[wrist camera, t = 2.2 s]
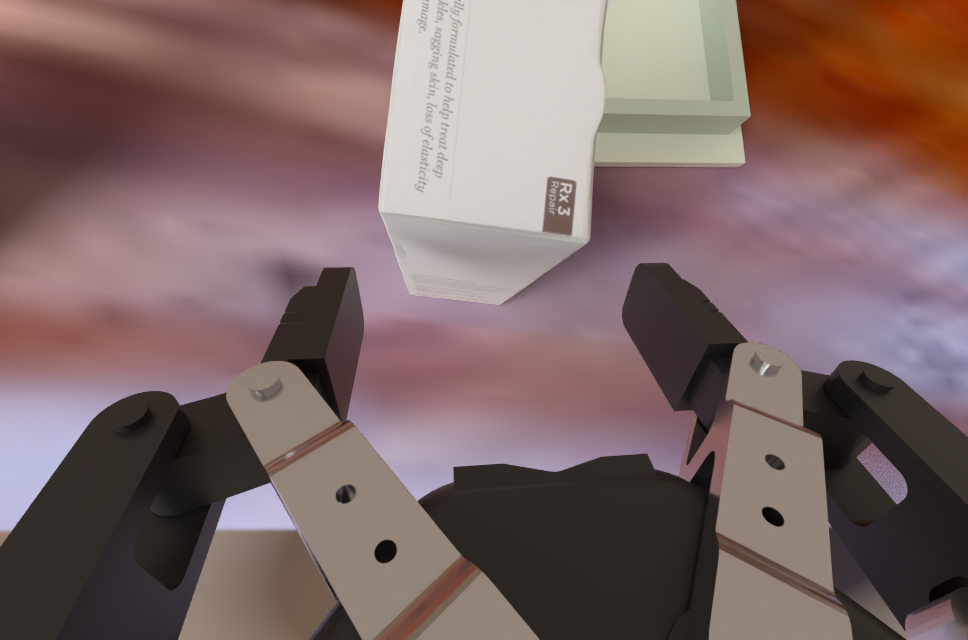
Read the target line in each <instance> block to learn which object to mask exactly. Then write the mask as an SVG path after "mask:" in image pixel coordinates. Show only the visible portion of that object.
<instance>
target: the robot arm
mask: <svg viewBox="0 0 968 640" xmlns="http://www.w3.org/2000/svg"><path fill="white" fill-rule="evenodd" d="M718 311H719V310H718V309H717V308H716V307H715V306H714V304H713V303H710V300H709V299H708V298H707V297H706V296H705V295H704V294H703V293H702V291H701V290H700V289H698V288H697V287H695V286H693V285H692V284H690V283H689V282H687V281H685V280H684V279H681V277H680V276H679V275H678V274H677V273H676V272H675V271H674V270H673V269H672V267H671V266H670V265H669V264H667V263H641V264H639V265H638V266H637V267H636V269H635V271H634V274H633V277H632V280H631V283H630V286H629V289H628V293H627V296H626V299H625V302H624V305H623V310H622V319H623V324H624V326H625V328H626V330H627V332H628V333H629V335H630V337H631V339H632V340H633V342H634V344H635V345H636V347H637V349H638V350H639V352H640V354H641V356H642V357H643V359H644V361H645V362H646V364H647V366H648V367H649V369H650V371H651V373H652V374H653V376H654V378H655V379H656V381H657V383H658V384H659V386H660V388H661V389H662V391H663V393H664V395H665V396H666V398H667V400H668V401H669V403H670V405H671V406H672V408H673V410H674V411H685V410H694V412H695V413H696V416H695V418H694V420H693V421H692V424H691V427H690V431H689V435H688V440H687V444H686V448H685V452H684V456H683V460H682V464H681V468H680V472H679V476H675V475H673V474H670V473H667V472H663V471H660V470H655V469H654V467H653V465H652V463H651V461H650V459H649V457H648V455H647V454H636V455H621V456H607V457H600V458H597V459H594V460H591V461H588V462H585V463H582V464H579V465H576V466H574V467H571V468H568V469H565V470H562V471H558V472H550V471H544V470H538V469H532V468H526V467H520V466H514V465H508V464H491V465H477V466H462V467H453V470H454V482H453V483H450V484H447V485H444V486H442V487H440V488H438V489H436V490H434V491H432V492H430V493H429V494H427V495H425V496H424V497H422V498H421V499H420V500H418V501H417V500H416V499H415V498H414V497H413V496H412V494H411V493H410V492H409V491H408V489H407V488H406V487H405V486H404V485H403V483H402V482H401V481H400V480H399V478H398V477H397V476H396V475H395V474H394V472H393V471H392V470H391V469H390V467H389V466H388V465H387V464H386V463H385V461H384V460H383V459H382V458H381V456H380V455H379V454H378V453H377V452H376V450H375V449H374V448H373V447H372V445H371V444H370V443H369V442H368V440H367V439H366V438H365V437H364V436H363V434H362V433H361V432H360V431H359V429H358V428H357V427H356V426H355V425H354V424H353V423H352V422H351V421H349V420H347V421H346V418H347V413H348V408H349V403H350V398H351V393H352V388H353V383H354V378H355V373H356V368H357V363H358V358H359V353H360V348H361V343H362V338H363V332H364V319H363V311H362V305H361V300H360V294H359V288H358V283H357V277H356V273H355V270H354V268H353V267H339V268H324V269H323V271H322V273H321V276H320V278H319V281H318V283H317V286H307V287H303V288H302V289H301V290H300V291H299V292H298V293H296V294H295V295H294V296H293V297H292V298H291V299H290V301H289V304H288V306H287V308H286V310H285V314H283V317H282V319H281V321H280V325H278V327H277V330H276V332H275V334H274V336H273V338H272V340H271V342H270V345H269V347H268V349H267V351H266V353H265V355H264V358H263V360H262V362H261V364H258V365H255V366H253V367H251V368H249V369H247V370H245V371H244V372H242V373H241V374H239V375H238V376H237V377H236V378H235V379H234V380H233V381H232V383H231V384H230V385H229V387H228V390H227V392H226V393H224V394H220V395H217V396H214V397H210V398H206V399H203V400H199V401H195V402H192V403H188V404H184V405H181V406H180V405H179V403H178V402H177V400H176V399H175V398H174V397H173V396H172V395H171V394H169V393H166V392H161V391H149V392H142V393H138V394H135V395H132V396H129V397H126V398H124V399H121V400H119V401H117V402H116V403H114V404H112V405H110V406H109V407H107V408H106V409H104V410H103V411H102V412H100V413H99V414H98V415H97V416H96V417H95V418H94V419H93V420H92V421H91V422H90V424H89V425H88V426H87V428H86V429H85V430H84V432H83V433H82V435H81V436H80V437H79V439H78V440H77V442H76V443H75V444H74V446H73V447H72V449H71V450H70V451H69V453H68V454H67V455H66V457H65V458H64V460H63V461H62V462H61V464H60V465H59V467H58V468H57V469H56V471H55V472H54V473H53V475H52V476H51V478H50V479H49V480H48V482H47V483H46V485H45V486H44V487H43V489H42V490H41V491H40V493H39V494H38V496H37V497H36V498H35V500H34V501H33V503H32V504H31V505H30V507H29V508H28V510H27V511H26V512H25V514H24V515H23V516H22V518H21V519H20V521H19V522H18V523H17V525H16V526H15V528H14V529H13V530H12V532H11V533H10V534H9V536H8V537H7V539H6V540H5V541H4V543H3V544H2V546H1V547H0V640H178V638H179V635H180V632H181V629H182V626H183V623H184V620H185V617H186V614H187V611H188V609H189V606H190V603H191V600H192V597H193V594H194V591H195V588H196V585H197V582H198V579H199V576H200V574H201V571H202V568H203V565H204V562H205V559H206V556H207V553H208V550H209V547H210V544H211V541H212V538H213V535H214V533H215V530H216V527H217V524H218V521H219V518H220V515H221V512H222V509H223V506H224V503H225V500H226V498H228V497H231V496H234V495H237V494H240V493H242V492H245V491H248V490H251V489H254V488H256V487H259V486H262V485H265V484H268V483H271V484H272V486H273V488H274V490H275V492H276V493H277V495H278V497H279V499H280V501H281V502H282V504H283V506H284V508H285V510H286V511H287V513H288V515H289V517H290V518H291V520H292V522H293V524H294V526H295V527H296V529H297V531H298V533H299V535H300V536H301V538H302V540H303V542H304V543H305V545H306V547H307V549H308V551H309V553H310V554H311V556H312V558H313V560H314V562H315V564H316V565H317V567H318V569H319V571H320V573H321V575H322V576H323V578H324V580H325V582H326V584H327V585H328V587H329V589H330V591H331V592H332V594H333V596H334V598H335V600H336V601H337V602H336V604H335V605H334V606H333V607H332V609H331V610H330V611H329V613H328V614H327V616H326V617H325V618H324V619H323V621H322V622H321V624H320V625H319V626H318V627H317V629H316V630H315V631H314V633H313V634H312V635H311V637H310V638H309V640H906V639H905V638H903V637H902V636H901V635H899V634H898V633H897V632H895V631H894V630H893V629H891V628H890V627H888V626H887V625H886V624H885V623H883V622H882V621H880V620H879V619H878V618H876V617H875V616H874V615H872V614H871V613H870V612H868V611H867V610H866V609H864V608H863V607H862V606H860V605H859V604H858V603H856V602H855V601H853V600H852V599H851V598H849V597H848V596H847V595H845V594H844V593H843V592H841V591H840V590H838V589H837V588H836V587H835V586H833V581H832V567H831V553H830V540H829V526H828V522H829V523H830V525H831V526H832V527H833V529H834V530H835V532H836V533H837V535H838V536H839V537H840V539H841V540H842V542H843V543H844V544H845V546H846V547H847V549H848V550H849V552H850V553H851V554H852V556H853V557H854V559H855V560H856V562H857V563H858V565H859V566H860V567H861V569H862V570H863V571H864V573H865V575H866V576H867V577H868V579H869V580H870V582H871V583H872V585H873V586H874V587H875V589H876V590H877V591H878V593H879V595H880V596H881V597H882V599H883V600H884V601H885V603H886V604H887V606H888V607H889V609H890V610H891V612H892V613H893V614H894V616H895V617H896V619H897V620H898V621H899V623H900V624H901V626H902V627H903V629H904V630H905V632H906V635H907V638H908V640H968V437H967V436H966V435H964V434H963V433H962V432H961V431H960V430H959V429H958V428H956V427H955V426H954V425H953V424H952V423H951V422H949V421H948V420H947V419H946V418H945V417H944V416H943V415H941V414H940V413H939V412H938V411H937V410H936V409H934V408H933V407H932V406H931V405H930V404H929V403H928V402H926V401H925V400H924V399H923V398H922V397H921V396H920V395H918V394H917V393H916V392H915V391H914V390H913V389H911V388H910V387H909V386H908V385H907V384H906V383H905V382H903V381H902V380H901V379H899V378H898V377H896V376H895V375H893V374H892V373H890V372H888V371H886V370H884V369H882V368H880V367H877V366H875V365H872V364H869V363H865V362H860V361H844V362H842V363H840V364H839V365H838V367H837V368H836V369H835V370H834V371H833V373H832V374H831V375H830V376H829V375H824V374H818V373H813V372H807V371H802V370H800V368H799V366H798V365H797V364H796V363H795V362H794V361H793V360H792V359H791V358H790V357H789V356H787V355H786V354H784V353H783V352H781V351H779V350H777V349H775V348H773V347H770V346H767V345H764V344H760V343H753V342H748V341H747V340H746V339H745V338H744V337H743V336H742V335H741V334H740V333H739V332H738V331H737V329H736V328H735V327H734V326H733V325H732V324H731V323H730V322H729V321H728V320H727V319H726V317H725V316H724V315H723V314H722V313H719V312H718ZM872 442H873V444H874V445H875V446H876V447H877V448H878V449H879V450H880V451H881V452H882V453H883V454H884V455H885V457H886V458H887V459H888V460H889V461H890V462H891V463H892V464H893V465H894V466H895V467H896V468H897V470H898V471H899V472H900V473H901V474H902V475H903V477H904V479H905V481H906V483H907V487H908V493H907V496H906V498H905V499H904V500H903V501H901V502H900V503H899V504H896V503H895V502H894V501H893V500H892V498H891V497H890V496H889V495H888V494H887V493H886V491H885V490H884V489H883V488H882V487H881V486H880V484H879V483H878V482H877V481H876V480H875V479H874V477H873V476H872V475H871V474H870V473H869V472H868V470H867V469H866V468H865V467H864V466H863V465H862V464H861V462H860V461H859V460H858V459H857V458H856V457H857V456H858V455H859V454H860V453H861V452H862V451H863V450H864V449H866V448H867V447H868V446H869V445H870V444H871V443H872Z"/></svg>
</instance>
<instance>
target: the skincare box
mask: <svg viewBox="0 0 968 640" xmlns="http://www.w3.org/2000/svg"><path fill="white" fill-rule="evenodd" d="M607 6H608V0H403V5H402V12H401V19H400V26H399V33H398V40H397V48H396V56H395V63H394V71H393V79H392V88H391V97H390V106H389V114H388V122H387V130H386V137H385V145H384V153H383V163H382V172H381V182H380V192H379V208H378V210H379V212H380V214H381V216H382V218H383V221H384V224H385V226H386V229H387V232H388V235H389V237H390V240H391V242H392V244H393V247H394V250H395V254H396V258H397V261H398V264H399V267H400V269H401V272H402V275H403V278H404V280H405V283H406V286H407V288H408V291H409V294H410V295H415V296H424V297H433V298H442V299H451V300H459V301H468V302H477V303H486V304H495V305H501V304H503V303H504V302H505V301H507V300H508V299H510V298H511V297H512V296H514V295H515V294H517V293H518V292H519V291H521V290H522V289H524V288H525V287H526V286H528V285H529V284H531V283H532V282H534V281H535V280H536V279H538V278H539V277H540V276H542V275H543V274H544V273H546V272H547V271H549V270H550V269H552V268H553V267H555V266H556V265H557V264H559V263H560V262H562V261H563V260H565V259H566V258H568V257H569V256H570V255H572V254H573V253H575V252H576V251H577V250H579V249H580V248H582V247H583V246H585V245H586V244H587V243H588V242H589V241H590V236H591V215H592V194H593V176H594V161H595V147H596V134H597V130H598V127H599V125H600V122H601V120H602V118H603V113H604V109H605V101H606V83H605V79H604V75H603V71H602V68H601V64H602V50H603V36H604V26H605V19H606V12H607Z"/></svg>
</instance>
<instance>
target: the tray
mask: <svg viewBox="0 0 968 640" xmlns="http://www.w3.org/2000/svg"><path fill="white" fill-rule="evenodd" d="M601 68H602V71H603V75H604V79H605V83H606V101H605V109H604V113H603V118H602V120H601V122H600V125H599V127H598V130H597V134H596V147H595V161H594V166H597V167H740V166H742V165H743V164H745V155H744V147H743V139H742V131H741V124H742V123H743V122H745V121H746V120H747V119H748V118H750V117H751V114H750V107H749V99H748V91H747V83H746V76H745V68H744V60H743V53H742V45H741V37H740V29H739V22H738V14H737V6H736V0H608V6H607V12H606V19H605V26H604V36H603V50H602V64H601Z"/></svg>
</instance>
